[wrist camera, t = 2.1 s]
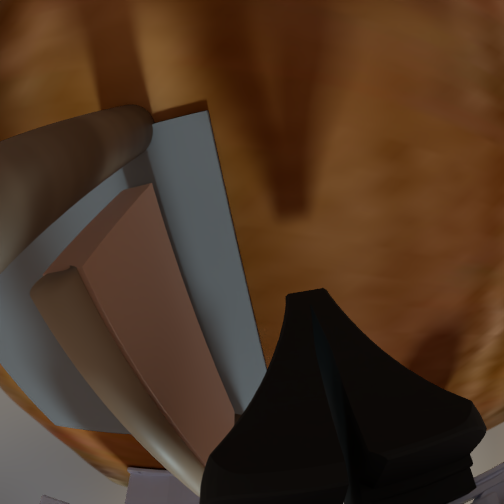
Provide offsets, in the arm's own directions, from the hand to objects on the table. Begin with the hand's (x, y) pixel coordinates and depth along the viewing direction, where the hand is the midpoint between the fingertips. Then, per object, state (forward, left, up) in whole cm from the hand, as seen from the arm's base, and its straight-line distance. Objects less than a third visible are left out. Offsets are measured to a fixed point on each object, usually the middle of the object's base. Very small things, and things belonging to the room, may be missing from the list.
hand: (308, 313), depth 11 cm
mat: (-12, -3, -3) cm, 13 cm away
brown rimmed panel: (-5, -2, -2) cm, 6 cm away
